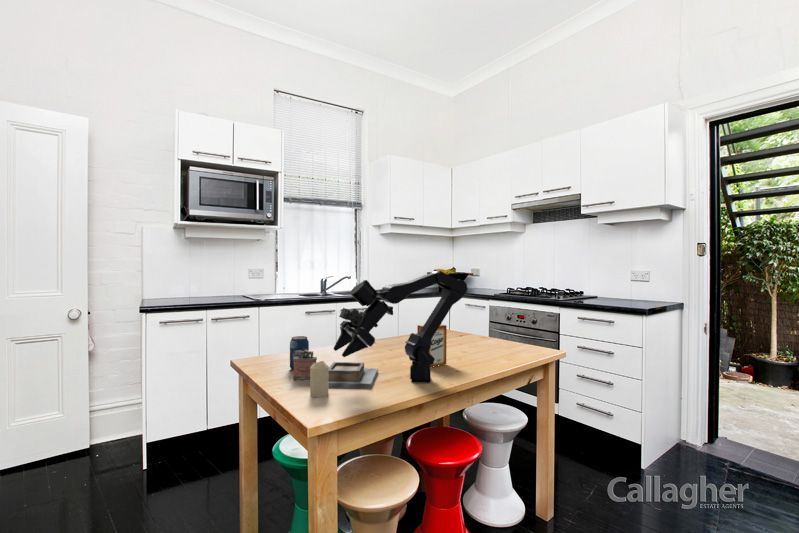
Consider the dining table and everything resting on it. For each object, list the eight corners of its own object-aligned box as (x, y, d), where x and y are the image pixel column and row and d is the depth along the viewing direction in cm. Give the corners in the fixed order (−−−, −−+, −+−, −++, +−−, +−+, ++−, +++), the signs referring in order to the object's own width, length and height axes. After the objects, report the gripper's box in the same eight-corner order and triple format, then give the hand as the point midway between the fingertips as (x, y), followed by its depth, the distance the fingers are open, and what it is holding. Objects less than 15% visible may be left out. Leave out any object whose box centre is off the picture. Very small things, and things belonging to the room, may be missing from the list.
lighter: (317, 377, 139) (317, 349, 139) (315, 380, 135) (315, 351, 135) (294, 377, 138) (294, 349, 138) (292, 380, 135) (292, 351, 135)
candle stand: (377, 372, 145) (377, 360, 145) (371, 388, 127) (371, 374, 127) (324, 371, 147) (324, 359, 147) (309, 386, 129) (310, 373, 129)
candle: (320, 390, 125) (320, 358, 125) (332, 394, 122) (332, 361, 122) (306, 394, 121) (306, 362, 121) (318, 398, 117) (318, 365, 117)
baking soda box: (427, 368, 152) (427, 326, 151) (417, 364, 157) (417, 324, 157) (446, 364, 157) (446, 324, 157) (435, 361, 162) (435, 322, 162)
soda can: (293, 372, 144) (293, 340, 144) (287, 368, 150) (287, 337, 150) (311, 369, 148) (311, 338, 148) (304, 365, 154) (304, 335, 154)
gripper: (346, 296, 134) (313, 331, 130) (365, 301, 117) (328, 341, 113) (367, 318, 138) (336, 352, 133) (389, 326, 121) (354, 366, 116)
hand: (338, 352), depth 124 cm, fingers open, 9 cm apart
